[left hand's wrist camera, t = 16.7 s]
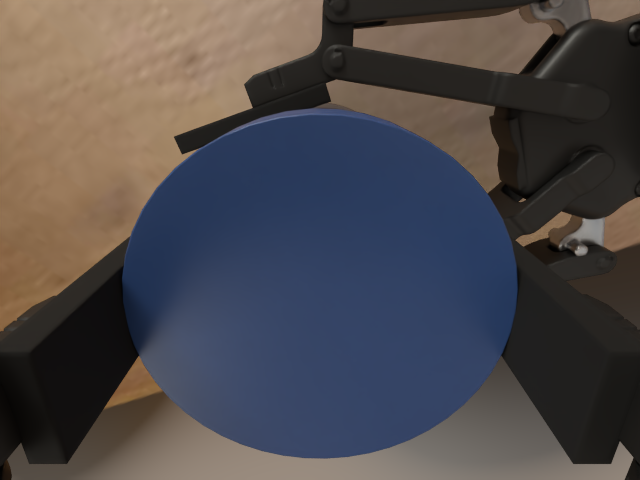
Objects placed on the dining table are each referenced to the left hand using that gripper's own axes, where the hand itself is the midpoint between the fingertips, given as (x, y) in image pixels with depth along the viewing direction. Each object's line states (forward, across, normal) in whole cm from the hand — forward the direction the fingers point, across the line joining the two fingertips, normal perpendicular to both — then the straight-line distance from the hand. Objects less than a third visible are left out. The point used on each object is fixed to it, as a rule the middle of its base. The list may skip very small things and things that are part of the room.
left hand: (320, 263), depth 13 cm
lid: (-3, 0, 0) cm, 3 cm away
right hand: (+6, -4, -1) cm, 7 cm away
